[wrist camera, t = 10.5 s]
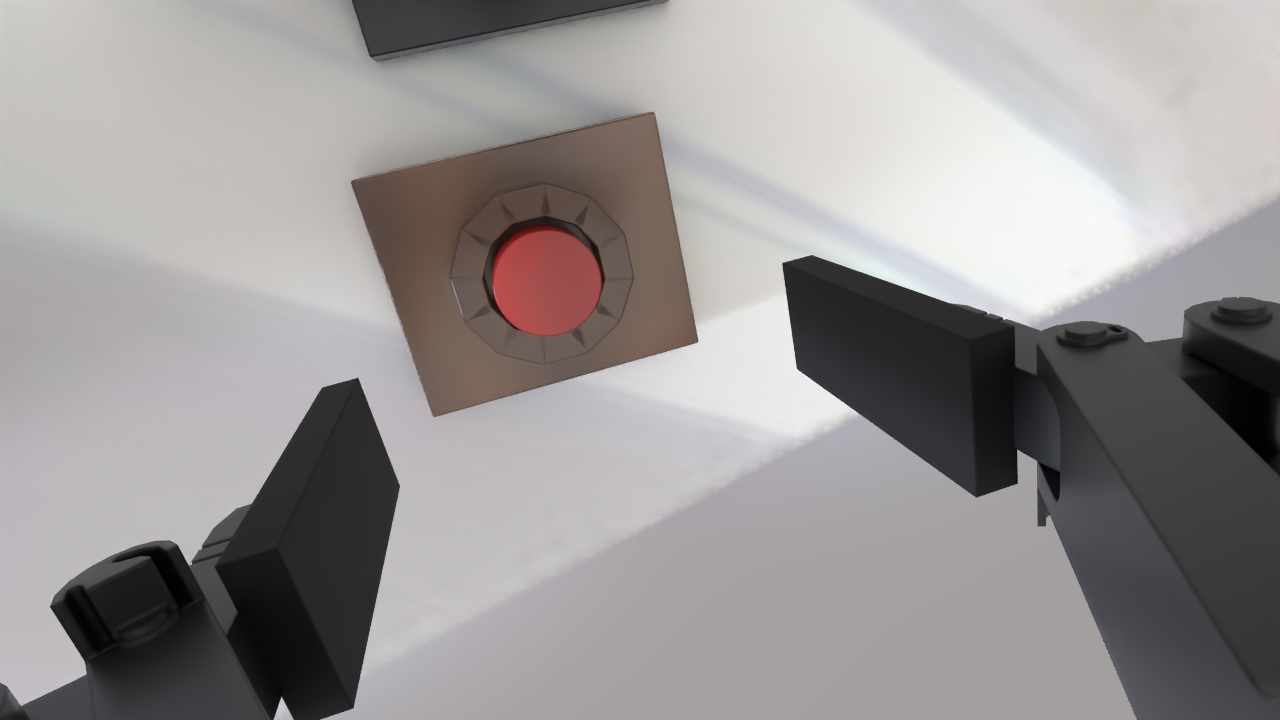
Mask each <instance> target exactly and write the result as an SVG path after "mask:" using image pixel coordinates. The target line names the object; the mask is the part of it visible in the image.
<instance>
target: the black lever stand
mask: <svg viewBox="0 0 1280 720" xmlns="http://www.w3.org/2000/svg"><path fill="white" fill-rule="evenodd" d="M668 1H669V0H352V3H353V6H354V9H355V12H356V15H357V18H358V21H359V24H360V28H361V31H362V34H363V37H364V40H365V43H366V46H367V49H368V52H369V56H370V57H371V58H373V59H374V60H375V61H380V60H385V59H390V58H395V57H400V56H404V55H409V54H414V53H419V52H424V51H429V50H434V49H439V48H443V47H448V46H453V45H458V44H463V43H468V42H473V41H478V40H482V39H487V38H492V37H497V36H502V35H507V34H512V33H517V32H521V31H526V30H531V29H536V28H541V27H546V26H551V25H556V24H561V23H565V22H570V21H575V20H580V19H585V18H590V17H595V16H600V15H604V14H609V13H614V12H619V11H624V10H629V9H634V8H639V7H643V6H648V5H653V4H658V3H663V2H668Z"/></svg>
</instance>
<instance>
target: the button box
mask: <svg viewBox="0 0 1280 720" xmlns="http://www.w3.org/2000/svg"><path fill="white" fill-rule="evenodd" d="M351 184H352V187H353V190H354V193H355V195H356V198H357V201H358V204H359V207H360V210H361V213H362V215H363V218H364V221H365V224H366V227H367V230H368V233H369V235H370V238H371V241H372V244H373V247H374V250H375V253H376V255H377V258H378V261H379V264H380V267H381V270H382V272H383V275H384V278H385V281H386V284H387V287H388V290H389V292H390V295H391V298H392V301H393V304H394V307H395V310H396V312H397V315H398V318H399V321H400V324H401V327H402V330H403V332H404V335H405V338H406V341H407V344H408V347H409V349H410V352H411V355H412V358H413V361H414V364H415V367H416V369H417V372H418V375H419V378H420V381H421V384H422V387H423V389H424V392H425V395H426V398H427V401H428V404H429V407H430V409H431V412H432V415H433V416H434V417H436V416H440V415H443V414H447V413H450V412H454V411H457V410H461V409H465V408H468V407H472V406H475V405H479V404H482V403H486V402H489V401H493V400H496V399H500V398H503V397H507V396H511V395H514V394H518V393H521V392H525V391H528V390H532V389H535V388H539V387H542V386H546V385H549V384H553V383H557V382H560V381H564V380H567V379H571V378H574V377H578V376H581V375H585V374H588V373H592V372H596V371H599V370H603V369H606V368H610V367H613V366H617V365H620V364H624V363H627V362H631V361H634V360H638V359H642V358H645V357H649V356H652V355H656V354H659V353H663V352H666V351H670V350H673V349H677V348H680V347H684V346H688V345H691V344H695V343H697V342H698V337H697V331H696V326H695V321H694V316H693V311H692V305H691V300H690V295H689V290H688V284H687V279H686V274H685V269H684V263H683V258H682V253H681V248H680V242H679V237H678V232H677V227H676V221H675V216H674V211H673V206H672V201H671V195H670V190H669V185H668V180H667V174H666V169H665V164H664V159H663V153H662V148H661V143H660V138H659V132H658V127H657V122H656V117H655V113H654V112H647V113H640V114H636V115H632V116H627V117H623V118H619V119H614V120H610V121H605V122H601V123H597V124H592V125H588V126H584V127H579V128H575V129H570V130H566V131H562V132H557V133H553V134H548V135H544V136H540V137H535V138H531V139H527V140H522V141H518V142H513V143H509V144H505V145H500V146H496V147H492V148H487V149H483V150H478V151H474V152H470V153H465V154H461V155H457V156H452V157H448V158H443V159H439V160H435V161H430V162H426V163H422V164H417V165H413V166H408V167H404V168H400V169H395V170H391V171H386V172H382V173H378V174H373V175H369V176H365V177H360V178H358V179H355V180H353V181H351ZM544 224H545V225H553V226H558V227H561V228H563V229H566V230H567V231H569V232H571V233H572V234H574V235H575V236H577V237H578V238H579V239H580V240H581V241H582V242H583V243H584V244H585V245H586V246H587V247H588V248H589V249H590V251H591V252H592V253H593V255H594V257H595V258H596V260H597V263H598V265H599V268H600V272H601V281H602V286H601V293H600V298H599V300H598V303H597V305H596V307H595V309H594V311H593V312H592V314H591V315H590V316H589V318H588V319H587V320H586V321H585V322H584V323H582V324H581V325H580V326H579V327H577V328H575V329H574V330H572V331H570V332H567V333H564V334H562V335H557V336H537V335H533V334H530V333H527V332H524V331H522V330H520V329H519V328H517V327H516V326H514V325H513V324H512V323H511V322H509V320H508V319H507V318H506V317H505V316H504V315H503V313H502V312H501V310H500V308H499V307H498V305H497V302H496V299H495V295H494V291H493V283H492V268H493V262H494V259H495V256H496V254H497V252H498V250H499V249H500V247H501V246H502V244H503V243H504V242H505V241H506V240H507V239H508V238H509V237H510V236H511V235H513V234H514V233H516V232H517V231H519V230H521V229H523V228H526V227H529V226H534V225H544Z"/></svg>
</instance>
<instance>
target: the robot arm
mask: <svg viewBox="0 0 1280 720" xmlns="http://www.w3.org/2000/svg"><path fill="white" fill-rule="evenodd" d="M782 265H783V272H784V280H785V287H786V294H787V301H788V308H789V315H790V322H791V330H792V337H793V344H794V351H795V358H796V365H797V369H798V370H799V371H801V372H802V373H803V374H805V375H806V376H808V377H809V378H810V379H812V380H813V381H814V382H816V383H817V384H819V385H820V386H821V387H823V388H824V389H826V390H827V391H828V392H830V393H831V394H833V395H834V396H835V397H837V398H838V399H840V400H841V401H842V402H844V403H845V404H847V405H848V406H849V407H851V408H852V409H854V410H855V411H856V412H858V413H859V414H861V415H862V416H863V417H865V418H866V419H868V420H869V421H870V422H872V423H873V424H875V425H876V426H877V427H879V428H880V429H881V430H883V431H884V432H886V433H887V434H888V435H890V436H891V437H893V438H894V439H895V440H897V441H898V442H900V443H901V444H902V445H904V446H905V447H907V448H908V449H909V450H911V451H912V452H914V453H915V454H916V455H918V456H919V457H921V458H922V459H923V460H925V461H926V462H927V463H929V464H930V465H932V466H933V467H934V468H936V469H938V470H939V471H940V472H942V473H943V474H944V475H946V476H947V477H948V478H950V479H951V480H953V481H954V482H955V483H957V484H958V485H960V486H961V487H962V488H964V489H965V490H967V491H968V492H969V493H971V494H972V495H973V496H975V497H979V496H982V495H985V494H988V493H991V492H994V491H997V490H1000V489H1003V488H1006V487H1009V486H1012V485H1015V484H1017V483H1018V480H1017V479H1018V475H1017V450H1019V451H1021V452H1023V453H1024V454H1026V455H1028V456H1030V457H1031V458H1033V459H1035V460H1037V488H1038V489H1037V490H1038V491H1037V494H1038V526H1046V517H1048V516H1049V515H1050V516H1051V519H1052V521H1053V523H1054V526H1055V528H1056V530H1057V533H1058V535H1059V537H1060V540H1061V542H1062V544H1063V547H1064V549H1065V552H1066V554H1067V556H1068V559H1069V561H1070V563H1071V566H1072V568H1073V570H1074V573H1075V575H1076V577H1077V580H1078V582H1079V584H1080V587H1081V589H1082V591H1083V594H1084V596H1085V599H1086V601H1087V603H1088V605H1089V608H1090V610H1091V613H1092V615H1093V617H1094V620H1095V622H1096V624H1097V627H1098V629H1099V631H1100V634H1101V636H1102V638H1103V641H1104V643H1105V646H1106V648H1107V650H1108V653H1109V655H1110V657H1111V660H1112V662H1113V664H1114V667H1115V669H1116V671H1117V674H1118V676H1119V678H1120V680H1121V683H1122V685H1123V688H1124V690H1125V693H1126V695H1127V697H1128V700H1129V702H1130V704H1131V707H1132V709H1133V711H1134V714H1135V716H1136V718H1137V720H1280V304H1278V303H1274V302H1268V301H1261V300H1257V299H1254V298H1249V297H1239V298H1236V297H1232V298H1223V299H1222V300H1220V301H1210V302H1205V303H1201V304H1197V305H1193V306H1192V307H1190V308H1188V309H1187V310H1185V311H1184V312H1185V313H1184V326H1183V337H1182V338H1175V339H1168V340H1161V341H1154V342H1147V343H1145V342H1144V341H1143V340H1142V339H1141V338H1140V337H1139V336H1138V335H1137V334H1136V333H1135V332H1133V331H1131V330H1129V329H1128V328H1125V327H1122V326H1120V325H1113V324H1106V323H1098V322H1093V321H1081V322H1075V323H1069V324H1063V325H1056V326H1053V327H1051V328H1048V329H1045V330H1043V331H1040V330H1037V329H1034V328H1031V327H1028V326H1026V325H1023V324H1020V323H1017V322H1014V321H1011V320H1008V319H1005V320H1003V318H1002V317H999V316H996V315H993V314H987V312H985V311H982V310H979V309H976V308H973V307H970V306H967V305H959V304H951V303H947V302H944V301H941V300H939V299H936V298H933V297H930V296H927V295H924V294H921V293H918V292H916V291H913V290H910V289H907V288H904V287H901V286H898V285H896V284H893V283H890V282H887V281H884V280H881V279H878V278H876V277H873V276H870V275H867V274H864V273H861V272H858V271H856V270H853V269H850V268H847V267H844V266H841V265H838V264H836V263H833V262H830V261H827V260H824V259H821V258H818V257H816V256H813V255H811V256H807V257H803V258H800V259H796V260H792V261H788V262H785V263H782ZM399 488H400V485H399V483H398V480H397V477H396V475H395V472H394V470H393V467H392V464H391V462H390V459H389V457H388V454H387V451H386V449H385V446H384V444H383V441H382V438H381V436H380V433H379V431H378V428H377V425H376V423H375V420H374V418H373V415H372V413H371V410H370V407H369V405H368V402H367V400H366V397H365V394H364V392H363V389H362V387H361V384H360V381H359V379H358V378H356V379H352V380H349V381H345V382H341V383H337V384H334V385H330V386H326V387H323V388H322V389H321V390H320V392H319V394H318V395H317V397H316V399H315V400H314V402H313V404H312V405H311V407H310V409H309V410H308V412H307V414H306V415H305V417H304V419H303V420H302V422H301V424H300V425H299V427H298V428H297V430H296V432H295V433H294V435H293V437H292V438H291V440H290V442H289V443H288V445H287V447H286V448H285V450H284V452H283V453H282V455H281V457H280V458H279V460H278V462H277V463H276V465H275V467H274V468H273V470H272V472H271V473H270V475H269V477H268V478H267V480H266V482H265V483H264V485H263V487H262V488H261V490H260V492H259V493H258V495H257V497H256V498H255V500H254V502H253V503H252V504H250V505H247V506H244V507H240V508H237V509H236V510H234V511H233V512H232V513H231V514H230V515H229V516H227V517H226V518H225V519H224V520H223V521H222V522H220V523H219V524H218V525H217V526H216V527H214V529H213V530H212V532H211V533H210V535H209V536H208V538H207V539H206V541H205V542H204V544H203V545H202V549H201V550H199V551H198V553H197V554H196V556H195V557H194V559H193V560H192V565H190V566H189V565H188V563H187V562H186V560H185V558H184V556H183V554H182V552H181V550H180V549H179V547H178V545H177V544H175V543H173V542H172V541H153V542H149V543H146V544H142V545H138V546H134V547H132V548H129V549H127V550H124V551H122V552H119V553H117V554H115V555H112V556H110V557H108V558H106V559H104V560H103V561H101V562H99V563H97V564H95V565H93V566H91V567H90V568H88V569H86V570H85V571H84V572H82V573H81V574H79V575H78V576H76V577H75V578H74V579H72V580H71V581H69V582H68V583H67V584H66V585H65V586H64V587H63V588H62V589H61V590H60V591H59V592H58V593H57V594H56V595H55V596H54V598H53V601H52V603H51V606H50V608H51V609H52V611H53V612H54V614H55V615H56V617H57V618H58V620H59V622H60V623H61V625H62V626H63V628H64V629H65V631H66V633H67V634H68V636H69V637H70V639H71V640H72V642H73V643H74V645H75V647H76V648H77V650H78V651H79V653H80V654H81V656H82V658H83V659H84V661H85V665H86V671H87V674H86V675H85V676H83V677H81V678H79V679H77V680H75V681H73V682H71V683H69V684H67V685H65V686H63V687H60V688H58V689H56V690H54V691H52V692H50V693H48V694H46V695H44V696H42V697H39V698H37V699H35V700H33V701H31V702H29V703H27V704H25V705H23V706H20V704H19V703H18V702H17V700H16V699H15V697H14V696H13V694H12V693H11V692H10V690H9V689H8V687H7V686H5V685H3V684H1V683H0V720H273V719H274V717H275V714H276V711H277V708H278V705H279V702H280V699H281V696H282V698H283V700H284V702H285V704H286V706H287V708H288V709H289V711H290V713H291V715H292V717H293V719H294V720H320V719H323V718H326V717H329V716H332V715H335V714H338V713H341V712H344V711H347V710H350V709H353V708H354V703H355V698H356V693H357V689H358V684H359V679H360V674H361V669H362V665H363V660H364V655H365V650H366V646H367V641H368V636H369V631H370V627H371V622H372V617H373V612H374V608H375V603H376V598H377V593H378V588H379V584H380V579H381V574H382V569H383V565H384V560H385V555H386V550H387V546H388V541H389V536H390V531H391V527H392V522H393V517H394V512H395V507H396V503H397V498H398V493H399Z"/></svg>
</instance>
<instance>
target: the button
mask: <svg viewBox="0 0 1280 720" xmlns="http://www.w3.org/2000/svg"><path fill="white" fill-rule="evenodd" d="M492 283H493V291H494V295H495V299H496V302H497V305H498V307H499V308H500V310H501V312H502V313H503V315H504V316H505V317H506V318H507V319H508V320H509V322H511V323H512V324H513V325H514V326H516V327H517V328H519V329H520V330H522V331H524V332H527V333H530V334H533V335H537V336H557V335H562V334H564V333H567V332H570V331H572V330H574V329H575V328H577V327H579V326H580V325H581V324H582V323H584V322H585V321H586V320H587V319H588V318H589V316H590V315H591V314H592V312H593V311H594V309H595V307H596V305H597V303H598V300H599V298H600V293H601V286H602V281H601V272H600V268H599V265H598V263H597V260H596V258H595V257H594V255H593V253H592V252H591V251H590V249H589V248H588V247H587V246H586V245H585V244H584V243H583V242H582V241H581V240H580V239H579V238H578V237H577V236H575V235H574V234H572V233H571V232H569V231H567V230H566V229H563V228H561V227H558V226H553V225H545V224H544V225H534V226H529V227H526V228H523V229H521V230H519V231H517V232H516V233H514V234H513V235H511V236H510V237H509V238H508V239H507V240H506V241H505V242H504V243H503V244H502V246H501V247H500V249H499V250H498V252H497V254H496V256H495V259H494V262H493V268H492Z"/></svg>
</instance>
